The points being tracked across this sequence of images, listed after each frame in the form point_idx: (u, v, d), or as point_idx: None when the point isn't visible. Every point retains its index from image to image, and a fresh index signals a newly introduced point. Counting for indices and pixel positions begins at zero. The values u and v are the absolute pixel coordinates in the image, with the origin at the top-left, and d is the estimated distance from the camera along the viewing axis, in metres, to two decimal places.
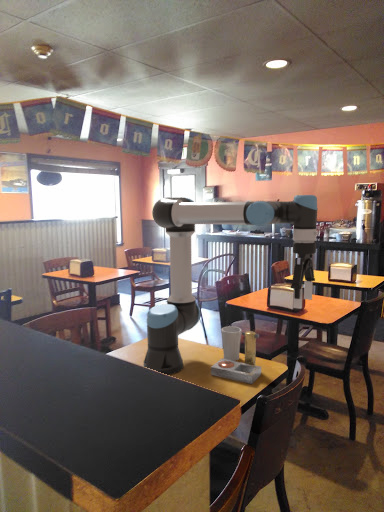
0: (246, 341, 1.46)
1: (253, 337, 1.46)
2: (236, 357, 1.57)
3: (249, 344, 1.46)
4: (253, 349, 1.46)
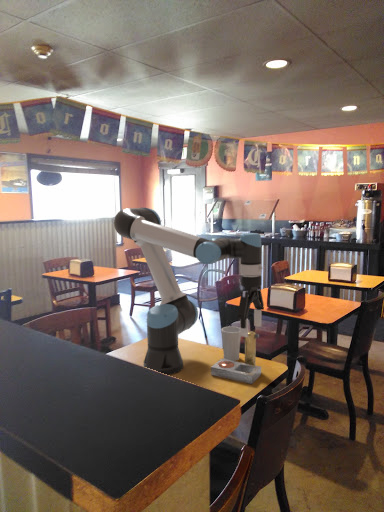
0: (246, 341, 1.46)
1: (253, 337, 1.46)
2: (236, 357, 1.57)
3: (249, 344, 1.46)
4: (253, 349, 1.46)
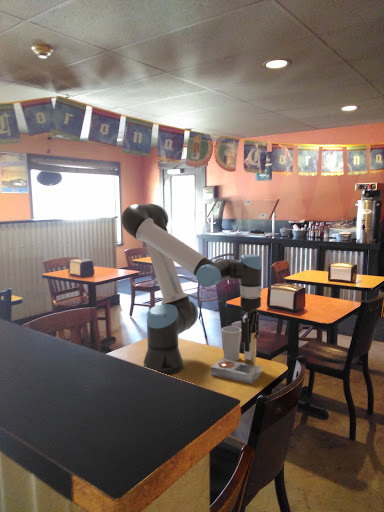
0: None
1: (253, 337, 1.46)
2: (236, 357, 1.57)
3: None
4: (253, 349, 1.46)
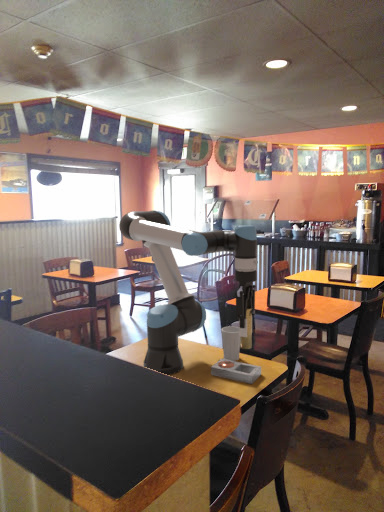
0: None
1: (249, 313, 1.37)
2: (236, 357, 1.57)
3: None
4: (249, 326, 1.38)
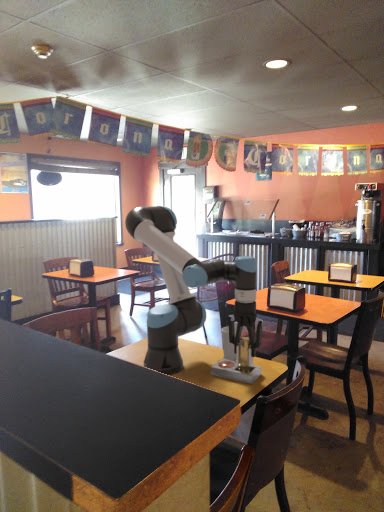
0: None
1: None
2: (236, 357, 1.57)
3: None
4: (240, 355, 1.40)
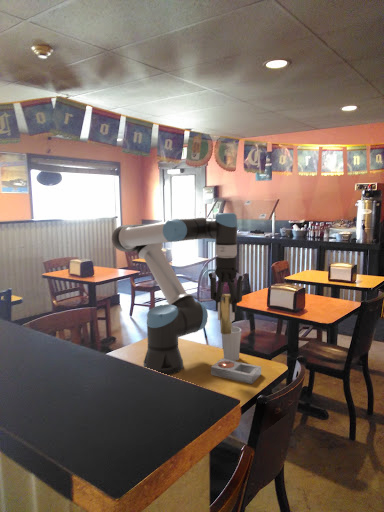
0: None
1: None
2: (236, 357, 1.57)
3: None
4: (221, 311, 1.42)
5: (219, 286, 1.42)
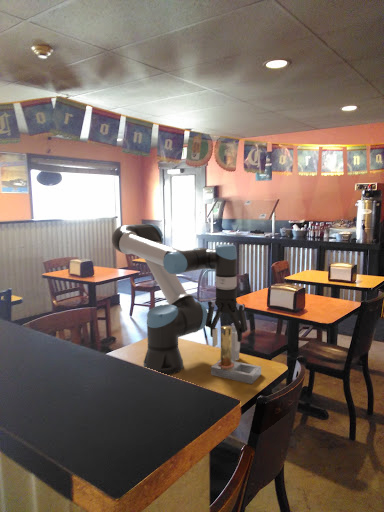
0: None
1: None
2: (236, 357, 1.57)
3: None
4: (221, 343, 1.43)
5: (216, 315, 1.44)
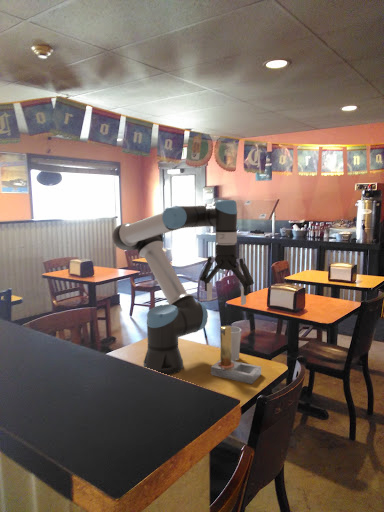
0: None
1: (221, 331, 1.43)
2: (236, 357, 1.57)
3: None
4: (221, 343, 1.43)
5: (214, 271, 1.42)
